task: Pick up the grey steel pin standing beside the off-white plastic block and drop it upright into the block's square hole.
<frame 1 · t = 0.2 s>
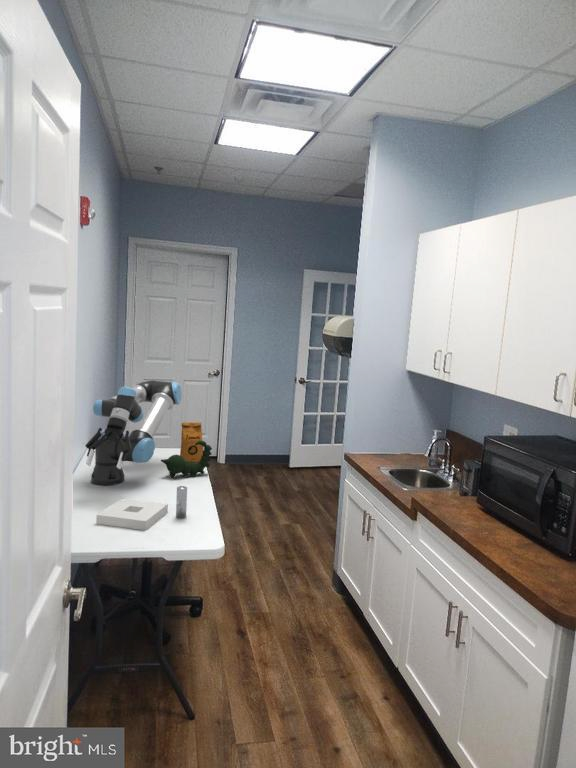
hand: (103, 466, 226), 16 cm above the table, tool tilted 35°, fingers open, 13 cm apart
coffee package: (191, 461, 301), on the table
steel pin: (181, 516, 217), on the table
toy figurine: (185, 476, 273), on the table
socket block: (133, 517, 213), on the table
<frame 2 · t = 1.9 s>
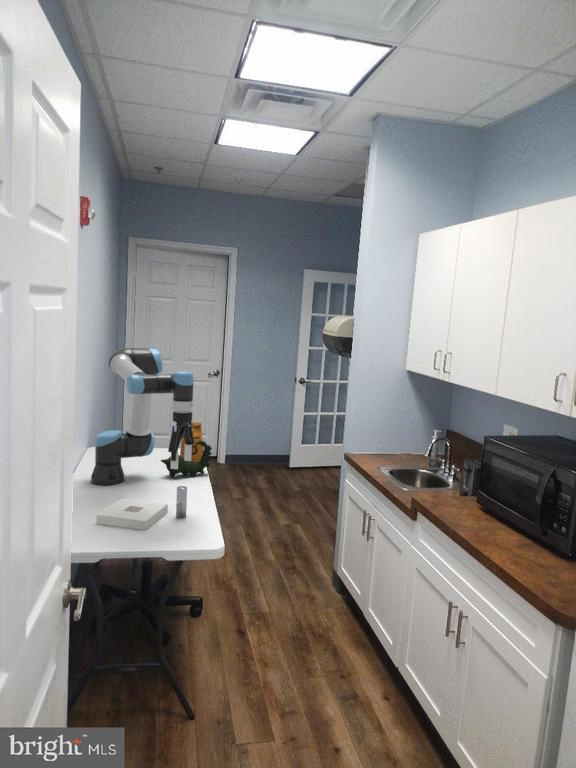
hand: (181, 464, 214), 21 cm above the table, tool pointing down, fingers open, 13 cm apart
nothing on the table moved.
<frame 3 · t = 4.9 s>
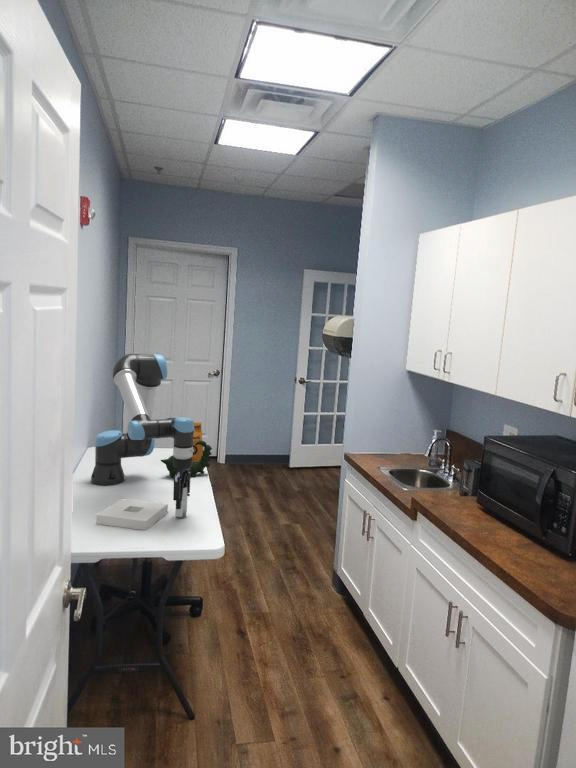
hand: (181, 514, 217), 1 cm above the table, tool pointing down, fingers closed on steel pin, 4 cm apart
steel pin: (181, 516, 217), on the table, touching gripper
everything else where it was.
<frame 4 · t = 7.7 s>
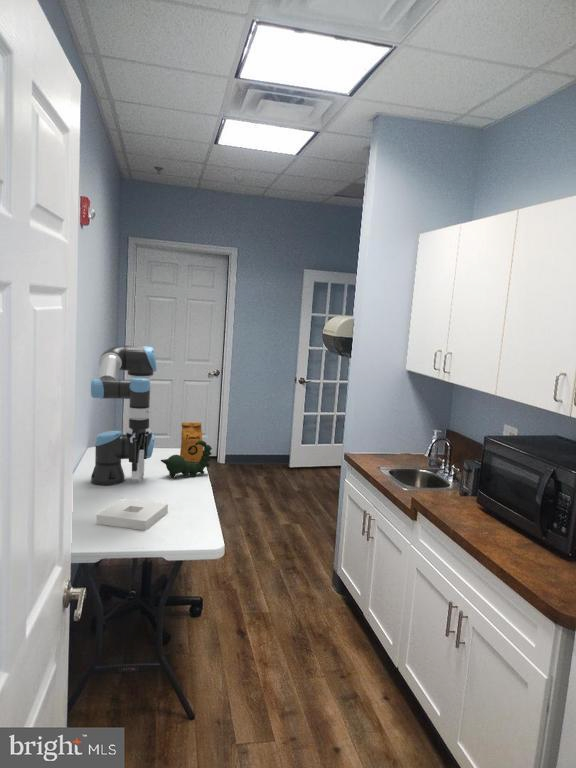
hand: (137, 477, 212), 16 cm above the table, tool pointing down, fingers closed on steel pin, 4 cm apart
steel pin: (137, 479, 212), point 15 cm above the table, touching gripper
everything else where it was.
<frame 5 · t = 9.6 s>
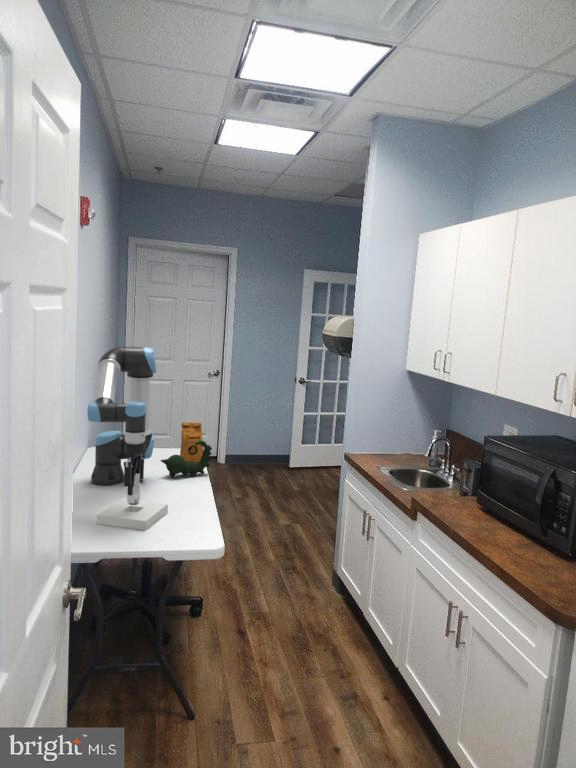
hand: (133, 500, 212), 7 cm above the table, tool pointing down, fingers closed on steel pin, 4 cm apart
steel pin: (133, 503, 212), point 6 cm above the table, touching gripper
everything else where it was.
when the fingers open (6 cm above the table, at t = 10.8 s): steel pin drops 5 cm, resting in socket block.
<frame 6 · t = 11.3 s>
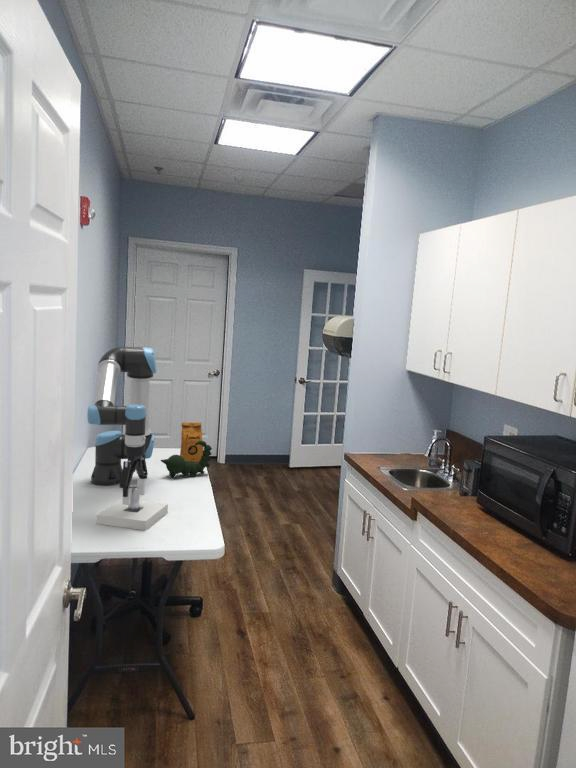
hand: (133, 499, 212), 7 cm above the table, tool pointing down, fingers open, 11 cm apart
steel pin: (133, 517, 213), resting in socket block
everything else where it was.
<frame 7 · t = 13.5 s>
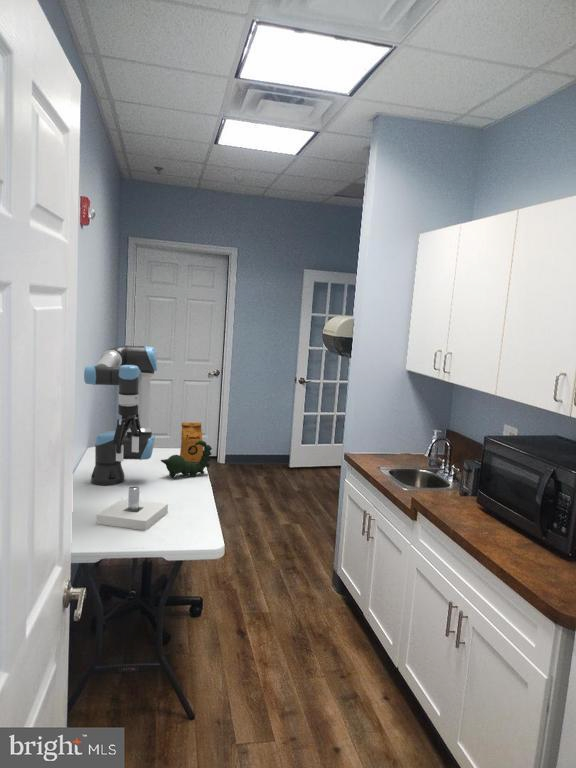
hand: (127, 456, 218), 22 cm above the table, tool pointing down, fingers open, 13 cm apart
nothing on the table moved.
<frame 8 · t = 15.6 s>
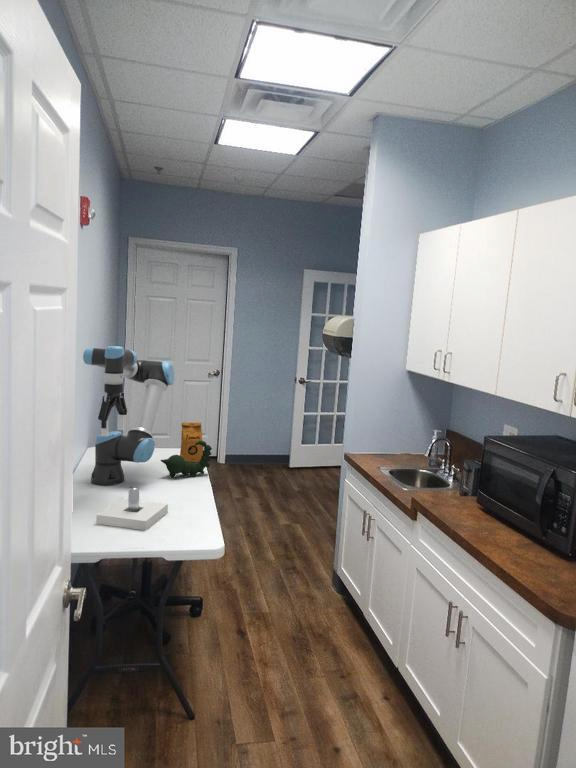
hand: (112, 432, 231), 29 cm above the table, tool pointing down, fingers open, 13 cm apart
nothing on the table moved.
at the end: steel pin 0.0 cm off-centre on the socket block, point 0.0 cm above the socket block's base; steel pin tilted 0°; the gripper is holding nothing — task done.
